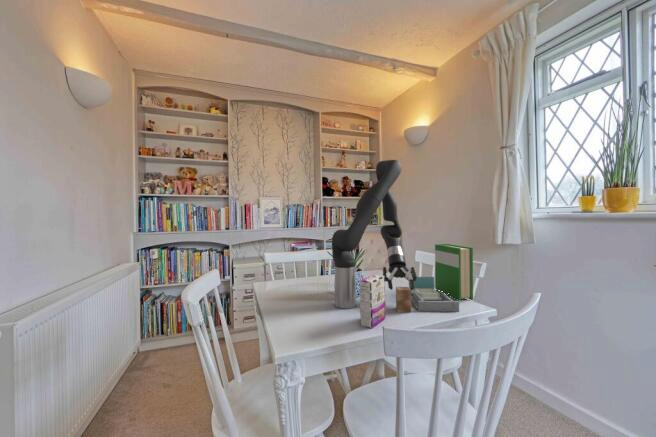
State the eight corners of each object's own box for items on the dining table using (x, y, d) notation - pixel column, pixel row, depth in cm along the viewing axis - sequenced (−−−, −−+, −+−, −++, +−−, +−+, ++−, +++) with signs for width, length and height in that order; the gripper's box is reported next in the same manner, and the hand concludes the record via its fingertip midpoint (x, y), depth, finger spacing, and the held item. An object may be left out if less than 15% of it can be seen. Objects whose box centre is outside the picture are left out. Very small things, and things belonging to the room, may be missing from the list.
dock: (418, 310, 107) (418, 301, 107) (408, 297, 124) (408, 289, 124) (459, 311, 106) (458, 301, 106) (443, 298, 123) (443, 290, 123)
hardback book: (473, 299, 121) (472, 247, 121) (459, 300, 120) (458, 248, 119) (447, 289, 138) (447, 243, 138) (435, 290, 137) (435, 244, 137)
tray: (417, 299, 117) (416, 284, 117) (408, 290, 132) (408, 276, 132) (444, 299, 117) (444, 284, 116) (433, 290, 131) (433, 276, 131)
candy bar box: (373, 316, 103) (373, 274, 102) (385, 318, 100) (385, 275, 99) (359, 325, 94) (358, 279, 94) (371, 329, 91) (371, 281, 91)
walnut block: (398, 312, 106) (398, 290, 106) (396, 307, 111) (396, 286, 111) (411, 312, 106) (411, 290, 106) (408, 307, 111) (407, 286, 111)
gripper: (381, 253, 121) (385, 284, 110) (412, 252, 120) (420, 284, 109) (380, 262, 126) (384, 293, 115) (410, 262, 125) (417, 293, 114)
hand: (401, 289), depth 112 cm, fingers open, 8 cm apart
